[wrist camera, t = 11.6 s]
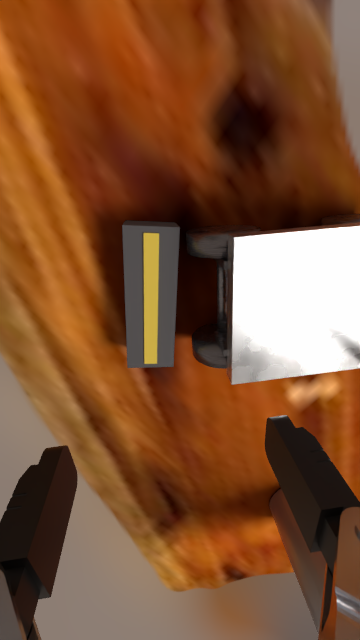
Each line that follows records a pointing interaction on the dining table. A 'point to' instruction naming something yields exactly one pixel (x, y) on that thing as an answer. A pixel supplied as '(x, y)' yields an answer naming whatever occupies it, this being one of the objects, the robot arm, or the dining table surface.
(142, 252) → the block
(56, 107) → the dining table surface
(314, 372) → the trolley
